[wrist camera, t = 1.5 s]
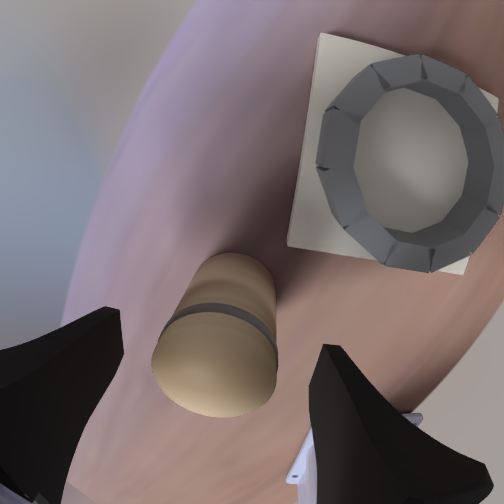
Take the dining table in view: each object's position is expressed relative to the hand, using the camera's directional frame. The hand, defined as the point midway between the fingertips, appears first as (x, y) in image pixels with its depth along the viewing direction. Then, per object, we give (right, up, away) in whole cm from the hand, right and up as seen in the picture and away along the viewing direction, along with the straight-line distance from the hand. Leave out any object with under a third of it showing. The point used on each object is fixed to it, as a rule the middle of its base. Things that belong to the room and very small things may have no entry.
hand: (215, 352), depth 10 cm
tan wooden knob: (0, +2, +4) cm, 5 cm away
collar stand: (+8, +7, +2) cm, 11 cm away
